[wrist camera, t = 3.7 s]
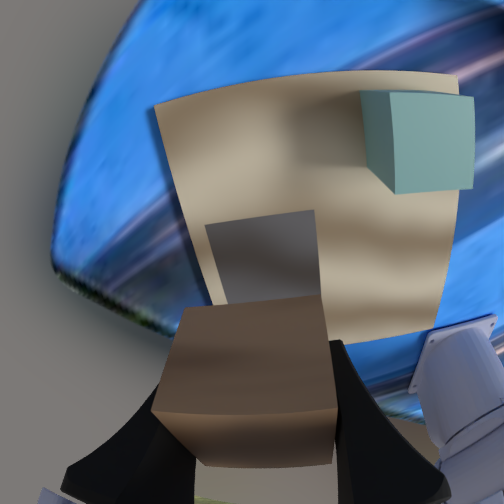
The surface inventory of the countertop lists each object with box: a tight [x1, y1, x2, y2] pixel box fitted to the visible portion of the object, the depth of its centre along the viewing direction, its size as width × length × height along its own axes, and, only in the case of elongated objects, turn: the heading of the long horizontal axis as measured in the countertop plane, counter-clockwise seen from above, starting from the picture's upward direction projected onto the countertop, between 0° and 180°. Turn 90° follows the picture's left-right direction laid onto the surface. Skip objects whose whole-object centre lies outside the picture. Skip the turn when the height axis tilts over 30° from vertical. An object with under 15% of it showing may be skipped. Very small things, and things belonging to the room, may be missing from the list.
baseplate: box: [154, 70, 459, 345], centre depth 17 cm, size 18×16×1 cm
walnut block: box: [151, 294, 338, 468], centre depth 10 cm, size 5×5×4 cm
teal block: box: [359, 90, 475, 195], centre depth 11 cm, size 4×4×4 cm
